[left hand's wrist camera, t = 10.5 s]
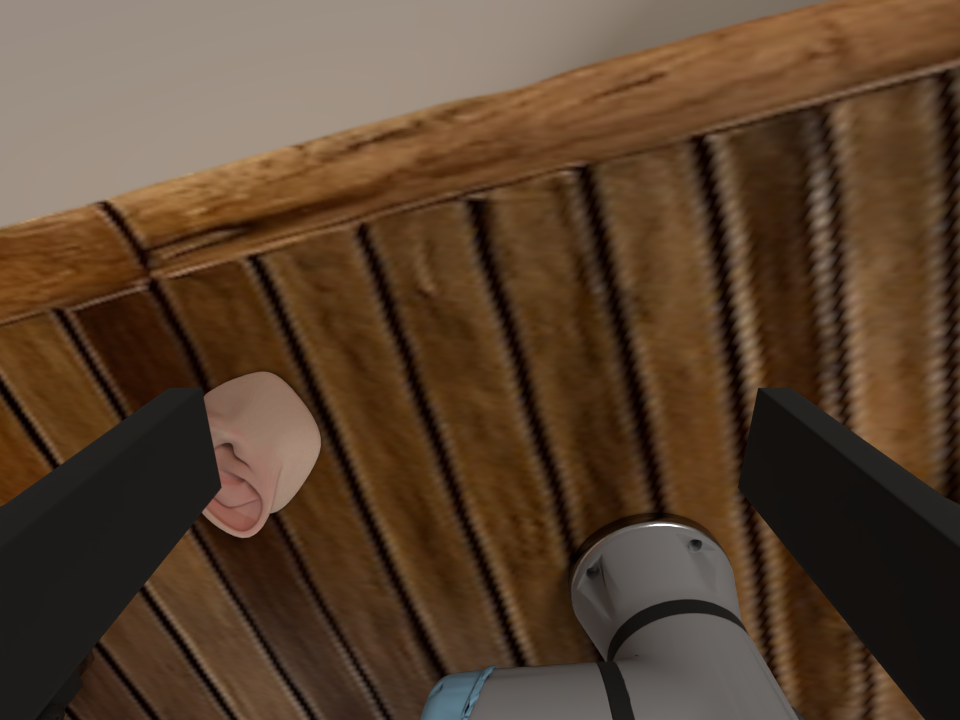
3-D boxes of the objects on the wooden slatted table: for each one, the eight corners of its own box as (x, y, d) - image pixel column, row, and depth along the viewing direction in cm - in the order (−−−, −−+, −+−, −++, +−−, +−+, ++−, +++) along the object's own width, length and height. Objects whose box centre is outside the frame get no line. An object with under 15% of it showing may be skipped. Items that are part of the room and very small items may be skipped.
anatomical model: (221, 366, 39) (342, 458, 42) (244, 348, 43) (354, 434, 45) (129, 476, 42) (247, 555, 45) (158, 451, 46) (265, 525, 49)
